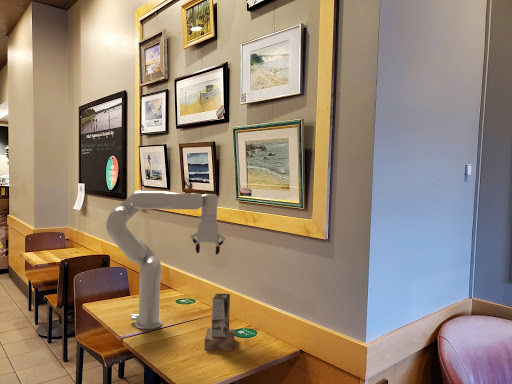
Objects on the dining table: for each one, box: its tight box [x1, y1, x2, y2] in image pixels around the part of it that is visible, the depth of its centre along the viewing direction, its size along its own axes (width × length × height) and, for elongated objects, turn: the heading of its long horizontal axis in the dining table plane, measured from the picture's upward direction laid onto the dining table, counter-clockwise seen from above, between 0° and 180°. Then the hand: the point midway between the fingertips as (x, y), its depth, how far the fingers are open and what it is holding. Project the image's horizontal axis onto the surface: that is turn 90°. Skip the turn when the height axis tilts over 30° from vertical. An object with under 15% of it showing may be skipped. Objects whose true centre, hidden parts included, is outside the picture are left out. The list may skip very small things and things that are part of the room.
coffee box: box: [211, 293, 231, 337], centre depth 168 cm, size 9×6×16 cm
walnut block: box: [204, 327, 236, 352], centre depth 167 cm, size 12×12×5 cm
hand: (207, 253), depth 192 cm, fingers open, 9 cm apart
